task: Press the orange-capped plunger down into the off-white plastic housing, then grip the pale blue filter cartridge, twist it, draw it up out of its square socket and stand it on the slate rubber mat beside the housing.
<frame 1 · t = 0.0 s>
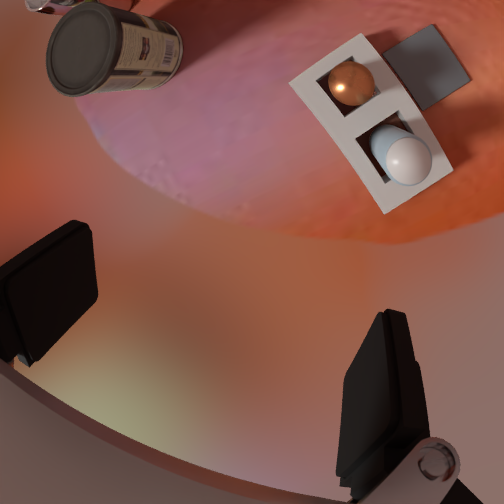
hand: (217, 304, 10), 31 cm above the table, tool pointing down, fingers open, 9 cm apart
housing: (373, 122, 33), on the table
beer glass: (118, 2, 32), on the table
mat: (427, 66, 28), on the table
plunger: (350, 84, 27), point 6 cm above the table, slide at 0.0 cm
cartridge: (387, 143, 34), resting in housing
coffee can: (149, 55, 35), on the table
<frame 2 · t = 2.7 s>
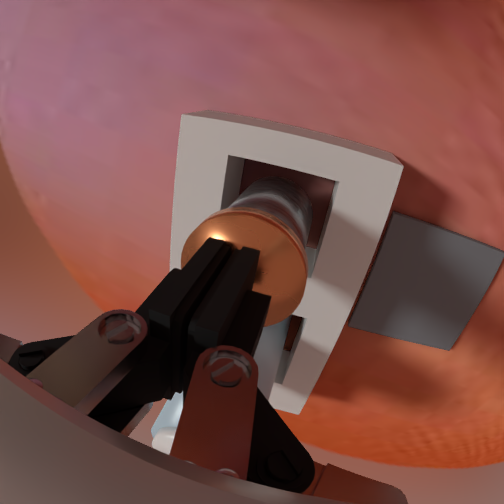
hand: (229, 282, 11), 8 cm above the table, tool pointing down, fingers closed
housing: (266, 273, 20), on the table
mat: (427, 288, 18), on the table
plunger: (261, 238, 13), point 5 cm above the table, slide at 0.3 cm, touching gripper
cartridge: (258, 309, 22), resting in housing
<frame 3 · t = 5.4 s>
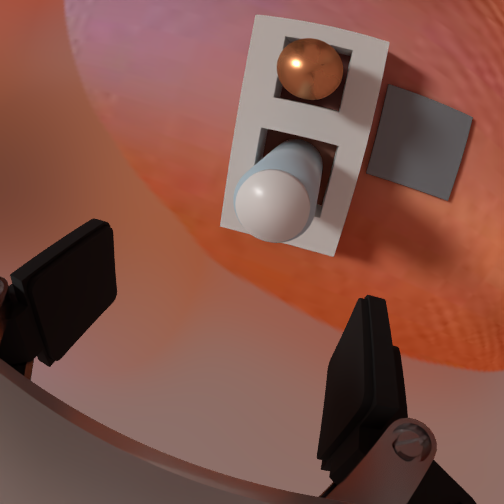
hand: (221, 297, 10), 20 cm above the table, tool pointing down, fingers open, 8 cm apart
housing: (303, 131, 26), on the table
mat: (421, 143, 23), on the table
plunger: (312, 72, 20), point 4 cm above the table, slide at 2.1 cm
cartridge: (296, 165, 27), resting in housing
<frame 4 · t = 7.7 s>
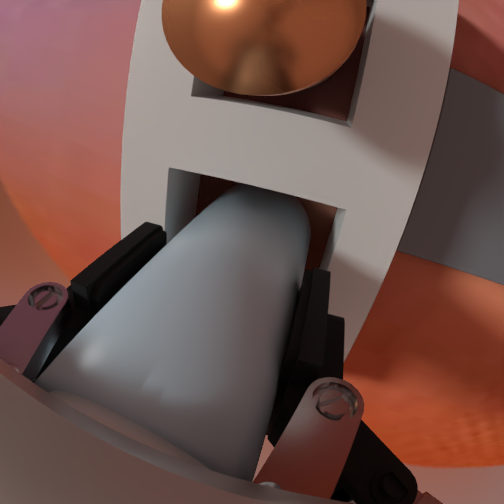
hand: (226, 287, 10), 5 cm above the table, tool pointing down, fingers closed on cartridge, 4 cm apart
housing: (272, 165, 13), on the table
mat: (500, 191, 11), on the table
plunger: (281, 28, 7), point 4 cm above the table, slide at 2.1 cm
cartridge: (258, 231, 14), resting in housing, touching gripper
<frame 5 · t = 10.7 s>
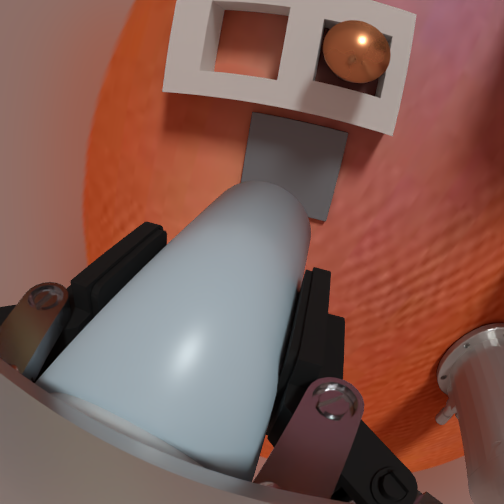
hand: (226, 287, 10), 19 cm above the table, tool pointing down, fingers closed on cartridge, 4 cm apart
housing: (289, 48, 22), on the table
mat: (291, 166, 27), on the table
plunger: (353, 56, 18), point 4 cm above the table, slide at 2.1 cm
cartridge: (258, 231, 14), point 14 cm above the table, touching gripper
when the fingers open (6 cm above the table, at t = 13.6 s): cartridge stays where it is, resting on mat.
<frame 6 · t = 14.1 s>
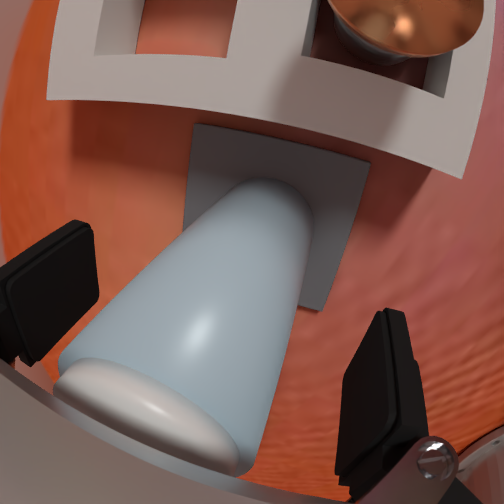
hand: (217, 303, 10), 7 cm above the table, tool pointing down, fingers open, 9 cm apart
housing: (260, 6, 11), on the table
mat: (265, 220, 16), on the table
plunger: (388, 7, 7), point 4 cm above the table, slide at 2.1 cm
cartridge: (264, 225, 15), resting on mat
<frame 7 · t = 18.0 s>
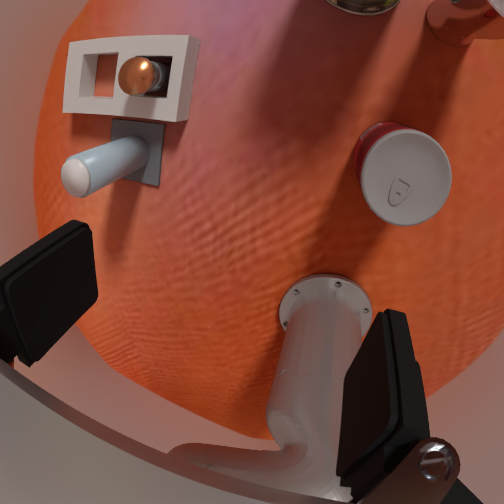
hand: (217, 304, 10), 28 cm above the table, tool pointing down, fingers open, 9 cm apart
canned food: (386, 155, 32), on the table
housing: (130, 75, 34), on the table
beer glass: (450, 23, 23), on the table
mat: (135, 151, 39), on the table
plunger: (148, 76, 30), point 4 cm above the table, slide at 2.1 cm
cartridge: (134, 152, 38), resting on mat
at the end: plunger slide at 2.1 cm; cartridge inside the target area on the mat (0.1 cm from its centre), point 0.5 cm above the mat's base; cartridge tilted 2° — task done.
